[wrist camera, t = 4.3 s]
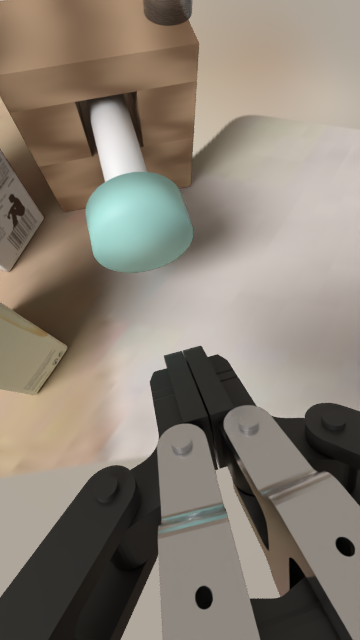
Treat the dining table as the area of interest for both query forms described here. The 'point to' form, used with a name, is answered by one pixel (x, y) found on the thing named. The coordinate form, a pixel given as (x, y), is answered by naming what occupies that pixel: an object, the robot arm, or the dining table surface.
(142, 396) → the dining table surface
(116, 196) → the knob
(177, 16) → the dial post
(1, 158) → the coffee box
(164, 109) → the mount
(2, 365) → the skincare box
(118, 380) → the dining table surface
